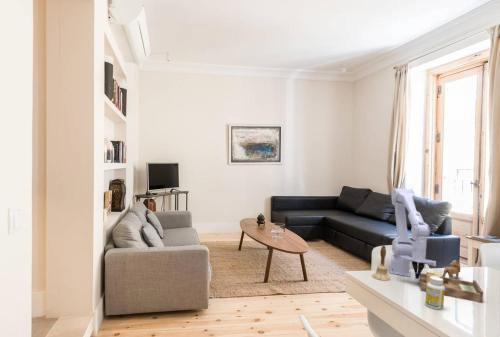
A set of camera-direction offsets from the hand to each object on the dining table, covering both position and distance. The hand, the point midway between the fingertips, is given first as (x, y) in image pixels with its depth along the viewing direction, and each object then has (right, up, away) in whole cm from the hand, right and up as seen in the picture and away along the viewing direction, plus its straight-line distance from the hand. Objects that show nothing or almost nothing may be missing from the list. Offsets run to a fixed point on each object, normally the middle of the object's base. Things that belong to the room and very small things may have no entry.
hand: (416, 278), depth 156 cm
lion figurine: (+22, -4, +11) cm, 25 cm away
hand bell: (-14, -2, +7) cm, 16 cm away
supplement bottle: (-5, -3, -24) cm, 25 cm away
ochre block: (+6, -1, -3) cm, 7 cm away
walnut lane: (+11, -4, -5) cm, 13 cm away
